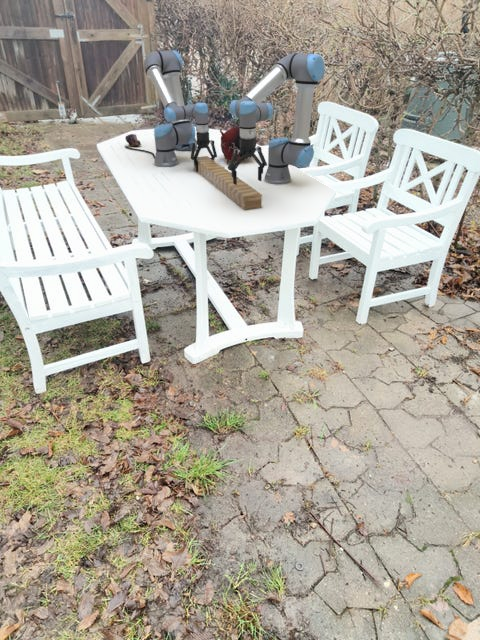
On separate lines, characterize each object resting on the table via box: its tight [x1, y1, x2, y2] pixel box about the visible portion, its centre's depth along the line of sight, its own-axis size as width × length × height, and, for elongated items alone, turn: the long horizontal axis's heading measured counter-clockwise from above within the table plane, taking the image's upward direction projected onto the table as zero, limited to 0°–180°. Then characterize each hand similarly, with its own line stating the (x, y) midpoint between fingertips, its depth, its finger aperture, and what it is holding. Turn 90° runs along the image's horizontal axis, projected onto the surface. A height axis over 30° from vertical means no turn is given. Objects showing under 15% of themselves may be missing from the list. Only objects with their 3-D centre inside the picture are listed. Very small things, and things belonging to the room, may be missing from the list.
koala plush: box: [174, 137, 198, 151], centre depth 321 cm, size 17×18×20 cm
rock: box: [125, 133, 142, 147], centre depth 332 cm, size 12×9×10 cm
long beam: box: [193, 155, 263, 211], centre depth 254 cm, size 80×9×7 cm, turn 23°
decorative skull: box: [219, 126, 258, 165], centre depth 296 cm, size 21×24×25 cm
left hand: (204, 169), depth 281 cm, fingers closed on long beam, 9 cm apart
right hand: (247, 182), depth 225 cm, fingers open, 13 cm apart
